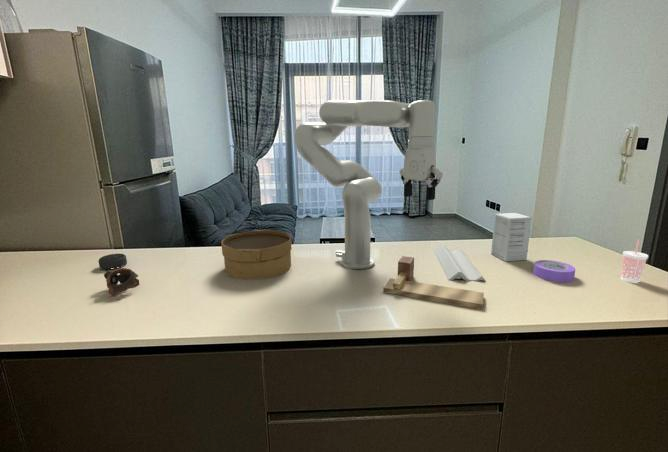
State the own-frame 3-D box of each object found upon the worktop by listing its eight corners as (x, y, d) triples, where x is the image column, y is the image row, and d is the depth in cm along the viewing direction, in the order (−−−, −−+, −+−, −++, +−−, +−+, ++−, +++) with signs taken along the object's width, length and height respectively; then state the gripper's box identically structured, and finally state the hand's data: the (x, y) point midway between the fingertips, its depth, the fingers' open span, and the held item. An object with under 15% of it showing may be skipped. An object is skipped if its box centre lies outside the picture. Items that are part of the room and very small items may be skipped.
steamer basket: (272, 283, 110) (270, 251, 108) (209, 276, 118) (205, 245, 116) (303, 259, 133) (301, 232, 130) (248, 255, 141) (246, 228, 138)
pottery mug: (149, 285, 112) (142, 269, 106) (129, 308, 105) (120, 292, 99) (118, 274, 113) (109, 258, 108) (96, 296, 107) (85, 280, 101)
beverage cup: (638, 278, 111) (647, 237, 107) (645, 285, 105) (655, 242, 102) (615, 275, 113) (623, 235, 110) (621, 282, 108) (629, 240, 104)
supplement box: (527, 260, 128) (533, 217, 124) (505, 262, 127) (510, 218, 123) (510, 252, 138) (515, 212, 134) (490, 253, 136) (494, 213, 132)
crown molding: (484, 283, 110) (485, 272, 109) (447, 282, 112) (447, 271, 111) (461, 252, 140) (462, 244, 139) (431, 252, 142) (432, 243, 141)
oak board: (383, 292, 103) (383, 287, 103) (390, 282, 110) (390, 278, 110) (482, 309, 92) (483, 304, 91) (483, 297, 99) (483, 292, 98)
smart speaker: (117, 270, 124) (116, 260, 123) (94, 270, 124) (92, 260, 123) (132, 262, 133) (130, 252, 132) (110, 262, 133) (108, 253, 132)
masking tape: (528, 268, 121) (529, 258, 120) (564, 270, 118) (566, 260, 117) (540, 281, 110) (541, 270, 109) (580, 284, 107) (582, 273, 106)
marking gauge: (389, 293, 102) (390, 271, 100) (401, 275, 116) (402, 256, 114) (402, 295, 101) (403, 273, 99) (413, 277, 114) (414, 257, 113)
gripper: (392, 143, 109) (391, 196, 113) (434, 142, 95) (431, 202, 99) (409, 143, 113) (408, 193, 117) (451, 142, 99) (448, 200, 103)
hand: (418, 197), depth 108 cm, fingers open, 9 cm apart
